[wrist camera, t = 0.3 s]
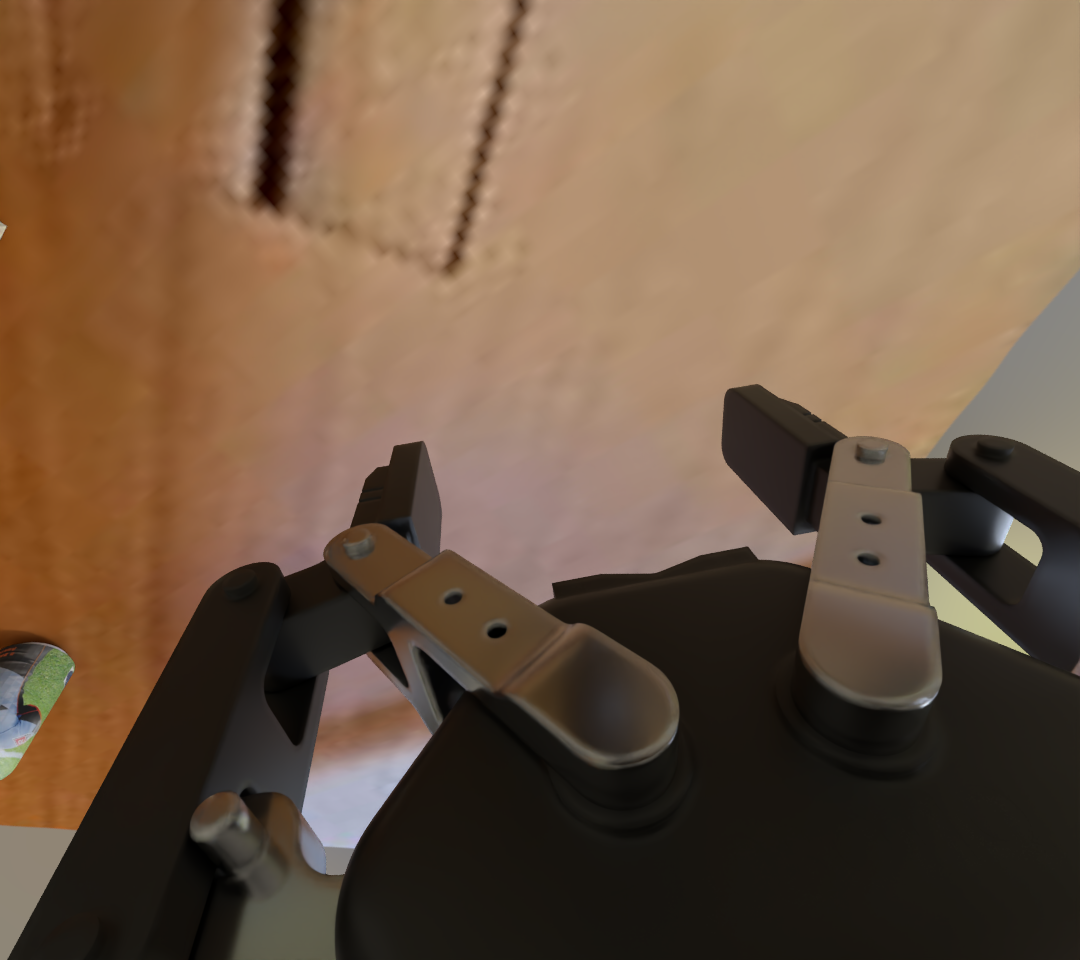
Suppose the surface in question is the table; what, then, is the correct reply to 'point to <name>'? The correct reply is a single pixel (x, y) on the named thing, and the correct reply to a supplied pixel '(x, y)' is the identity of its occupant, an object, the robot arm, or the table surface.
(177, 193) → the table surface
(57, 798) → the table surface
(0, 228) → the button block
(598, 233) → the table surface
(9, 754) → the beverage can
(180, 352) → the table surface
